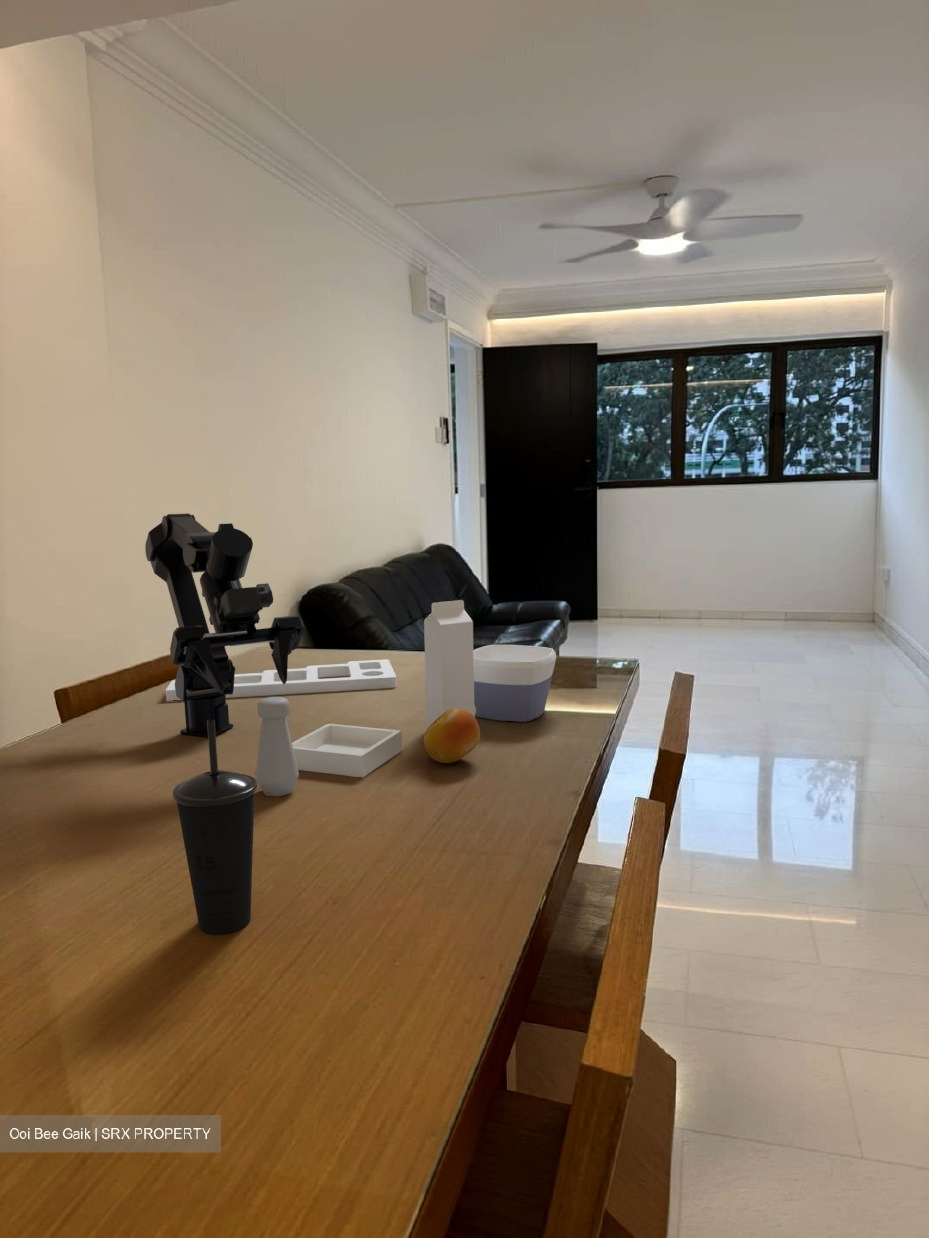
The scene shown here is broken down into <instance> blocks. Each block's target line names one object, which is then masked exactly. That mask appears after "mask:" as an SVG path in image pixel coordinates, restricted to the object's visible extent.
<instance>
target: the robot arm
mask: <svg viewBox="0 0 929 1238" xmlns="http://www.w3.org/2000/svg"><path fill="white" fill-rule="evenodd" d="M144 545H145V546H144V547H145V549H144V551H145V557H146V559H147V562H150V564H151V567H152V570H153V574H154V575H156V576H157V577H158V578H160V579H161V580H162V581H164V582H165V583H166V585H167V589H168V593H169V596H170V601H171V603H172V608H173V611H174V615H175V618H176V621H177V624H178V627H176V628H175V629H174V631H173V633H172V638H171V642H170V647H169V650H170V651H169V652H170V657H171V661H172V664H174V665H176V666H178V668H177V673H176V676H175V679H174V680H175V690H176V696H177V697H178V698H179V699H180V700H182V701H181V702H184V717H185V727H184V728H183V729H180V730H179V732H180V734H181V735H184V734H185V735H191V736H199V737H200V736H201V737H208V728H207V721H208V720H215V734H216V735H218V734H221V733H223V732H226V731H227V730H229V729H231V728H234V723H230V716H229V705H228V703H227V698H226V695H228V694H229V695H231V694H233V690H234V674H236V667H235V666H234V665H233V663H234V662H233V661H232V659H231V658H229V655H228V652H227V650H226V649H227V648H226V647H229V646H230V647H238V646H246V645H255V644H265V643H268V645H269V647H270V650H272V652H271V658H272V660H273V663H274V667H275V670H277V672H278V675H279V678H280V679H281V681H282V683H283V684H286V681H287V669H288V667H289V665H288V664H289V662H288V661H289V655H291V653H292V651H295V650H297V649H298V648H299V645H300V642H301V640H302V637H303V634H304V632H305V629H306V627H305V625H304V621H303V619H302V618H301V617H300V616H299V615H287V616H278V617H277V616H276V617H274V618H273V620H272V624H271V627H264V628H259V629H257V627H256V624H259V623H260V619H261V617H260V614H259V612H261V611H263V610H264V608H269V607H270V606H271V605H272V604H273V603H274V595H273V592H272V589H271V586H270V585H269V583H267V582H266V583H258V584H256V585H255V586H251V587H250V586H249V587H243V585H242V583H241V580H240V579H242V578H244V577H245V574H246V572H247V569H248V564H249V561H250V558H251V553H252V550H253V545H254V543H253V539H252V537H251V536H249V535H248V534H247V533H246V532H244V531H243V530H240V529H237V528H234V524H233V523H230V522H229V523H219V524H218V528H217V531H209V530H208V529H207V528H205V526H203V525H202V524H201V523H199V521H198V520H196V517H195V515H194V514H191V513H187V512H186V513H168V514H167V515H163V517H162V519H161V522H160V523H159V524H158V525H156V526H155V527H153V528H152V529H151V530H149V532H148V534H147V537H146V540H145V544H144ZM193 573H197V574H198V573H202V574H201V576H200V579H199V584H200V587H201V595H202V597H203V598H204V601H205V603H206V606H207V610H208V613H209V618H208V621H209V623H210V626H211V625H212V626H213V629H214V632H211V633H210V630H209V627H208V622H207V619H206V616H205V612H204V610H203V605H202V602H201V599H200V595H199V593H198V588H197V585H196V582H195V579H194V575H193ZM187 690H189V691H187Z"/></svg>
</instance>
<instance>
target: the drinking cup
mask: <svg viewBox="0 0 929 1238" xmlns="http://www.w3.org/2000/svg"><path fill="white" fill-rule="evenodd" d="M207 728H208V736H207V739H208V740H207V742H208V754H209V768H210V771H206V772H202V773H200V774H199V773H198V774H196V775H194V776H192V777H190V778H188V779H187V780H184V781H182V782H180V783H178V784H177V785H176V786H175V787H174V788H173V789H172V798H173V800H174V801H175V802H176V805H177V806H176V807H177V811H178V815H179V822H180V827H181V833H182V838H183V844H184V850H185V855H186V861H187V867H188V868H187V869H188V872H189V878H190V883H191V888H192V894H193V895H192V896H193V899H194V907H195V912H196V917H197V918H196V919H197V922H198V927H199V930H201V931H202V932H204V933H205V934H210V935H227V934H231V933H234V932H236V931H239V930H241V929H243V928H244V927H246V926H247V925H248V924H249V923H250V921H251V918H252V891H253V889H252V886H253V885H252V884H253V853H254V824H255V823H254V820H255V818H254V816H255V793H256V792H257V790H258V783H257V781H256V777H253V776H252V775H248V774H244V773H239V772H236V771H234V770H233V771H231V770H224V769H223V770H222V769H221V770H219V765H218V752H217V751H218V750H217V749H218V748H217V738H216V737H217V734H215V720H208V721H207Z"/></svg>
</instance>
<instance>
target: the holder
mask: <svg viewBox="0 0 929 1238" xmlns="http://www.w3.org/2000/svg"><path fill="white" fill-rule="evenodd" d="M331 677H332V678H331ZM175 680H176V679H173V680H171V681H170V683H169V684H168V686H167V687H166V688H165V699H166V701H165V702H174V701H173V700H180V699H179V698H178V697H177V696H176V690H175ZM397 683H398V682H397V675H396V673H395V670H394V669H393V666H392V664H391V661H390V659H388V658H387V659H371V660H353V661H352V660H351V661H347V663H338V664H337V663H335V664H318V665H317V664H315V665H306V667H304V668H287V681H286V684H283V683H282V681H281V679H280V678H279V675H278V672H277V669H267V670H266V669H265V670H263V672H252V673H235V674H234V690H233V694H231V695H229V694H228V695H226V699H229V698H245V697H246V698H247V697H248V698H249V697H263V696H277V695H278V696H279V695H294V694H295V695H296V694H313V693H324V692H325V693H327V692H346V691H360V690H363V691H364V690H379V689H381V690H382V689H393V688H398V687H397ZM187 691H189V690H187Z"/></svg>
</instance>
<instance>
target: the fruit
mask: <svg viewBox="0 0 929 1238" xmlns="http://www.w3.org/2000/svg"><path fill="white" fill-rule="evenodd" d="M474 716H475V715H474ZM474 716H473V715H472V714H471V713H469V712H467V711H465V710H463V709H458V708H454V709H450V710H447V711H446V712H445V713H443V714H442V715H441V716H440V717H438V718H437V719H436V720H435V721H434V722H433V723H432V724H431V725H430V726H429V728H428V729H427V728H426V730H425V732H424V735H423V745H424V748H425V750H426V752H427V753H426V754H427V755H429V757H430V758H431V759H433V760H434V761H436V762H439V763H443V764H452V763H455V762H457V761H459V760H461V759H463V757H465V756H467V755H468V754H470V753H471V752H473V750H475V749H476V747H477V746H478V744H479V742H480V739H481V730H480V725H479V722H478V720H477V719H476V717H474Z"/></svg>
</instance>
